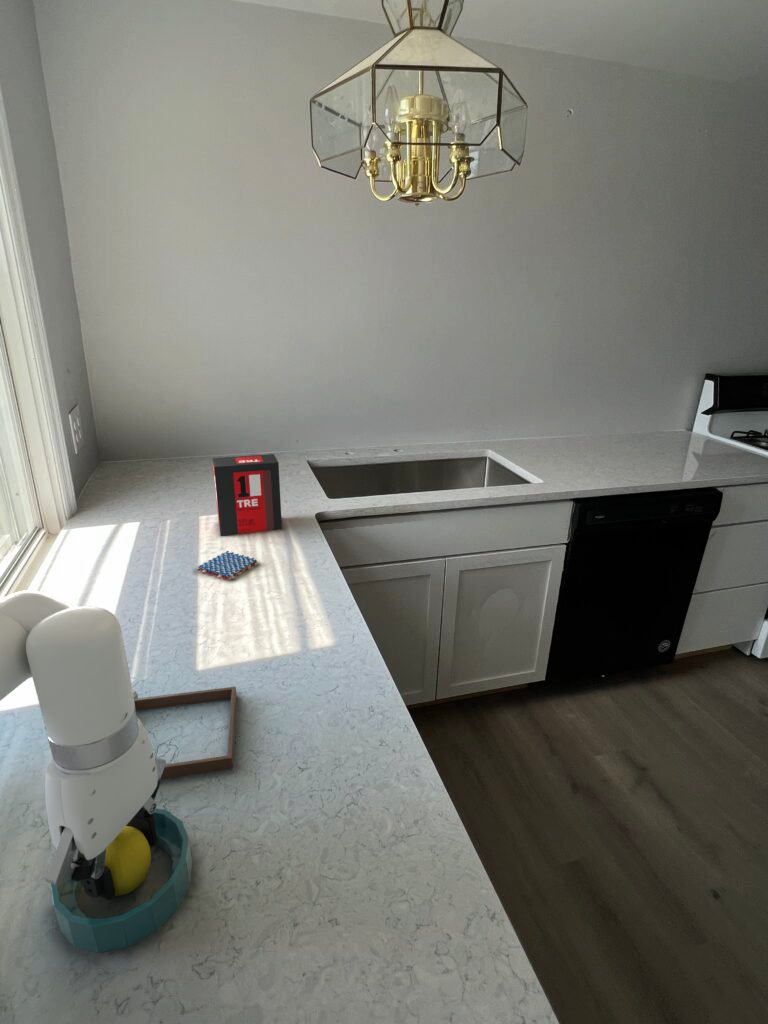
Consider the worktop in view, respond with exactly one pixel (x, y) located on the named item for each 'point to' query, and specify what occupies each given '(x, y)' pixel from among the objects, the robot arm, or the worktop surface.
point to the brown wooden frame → (193, 698)
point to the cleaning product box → (247, 494)
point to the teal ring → (141, 918)
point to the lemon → (128, 860)
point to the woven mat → (227, 565)
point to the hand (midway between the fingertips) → (123, 864)
